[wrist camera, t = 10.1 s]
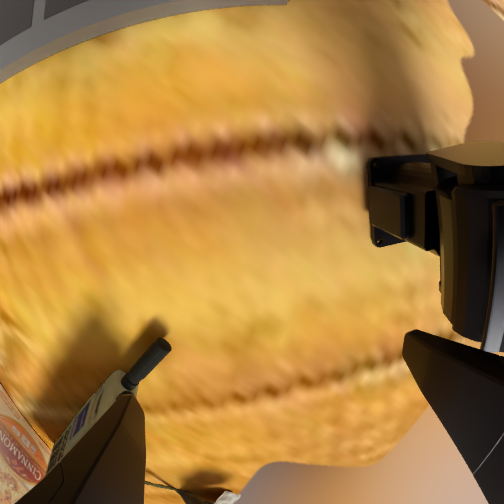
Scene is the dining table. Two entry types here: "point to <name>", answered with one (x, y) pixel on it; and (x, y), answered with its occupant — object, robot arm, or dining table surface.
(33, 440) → the coffeecake box
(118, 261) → the dining table surface
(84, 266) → the dining table surface
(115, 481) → the robot arm
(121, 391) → the handheld radio
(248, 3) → the power strip
